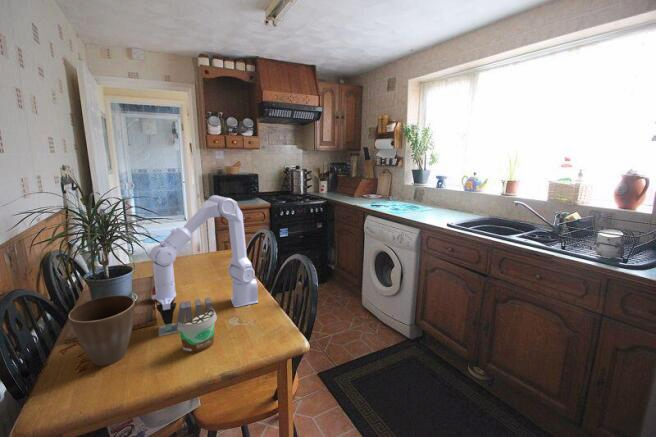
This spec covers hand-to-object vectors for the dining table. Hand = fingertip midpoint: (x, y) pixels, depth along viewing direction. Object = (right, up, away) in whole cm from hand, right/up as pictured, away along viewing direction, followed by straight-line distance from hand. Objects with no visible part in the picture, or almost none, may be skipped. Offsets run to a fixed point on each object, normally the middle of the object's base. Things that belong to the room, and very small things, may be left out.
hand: (168, 319), depth 104 cm
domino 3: (+6, -3, +4) cm, 7 cm away
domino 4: (+8, -3, +5) cm, 10 cm away
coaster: (0, -4, +1) cm, 4 cm away
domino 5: (+11, -3, +7) cm, 13 cm away
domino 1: (0, -2, 0) cm, 3 cm away
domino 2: (+3, -3, +2) cm, 5 cm away
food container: (+15, -6, -8) cm, 18 cm away
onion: (-14, +1, +21) cm, 25 cm away
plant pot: (-10, -7, -14) cm, 18 cm away
